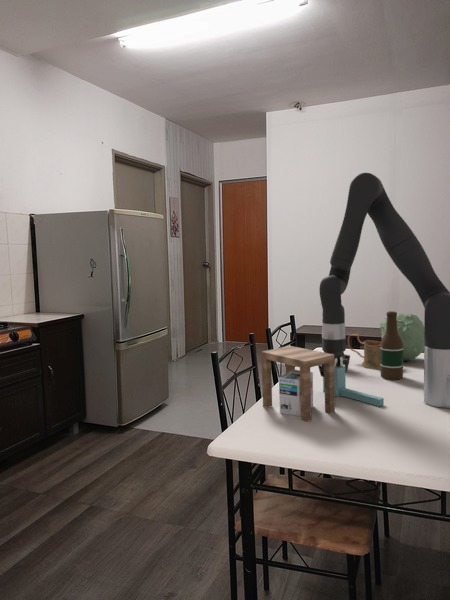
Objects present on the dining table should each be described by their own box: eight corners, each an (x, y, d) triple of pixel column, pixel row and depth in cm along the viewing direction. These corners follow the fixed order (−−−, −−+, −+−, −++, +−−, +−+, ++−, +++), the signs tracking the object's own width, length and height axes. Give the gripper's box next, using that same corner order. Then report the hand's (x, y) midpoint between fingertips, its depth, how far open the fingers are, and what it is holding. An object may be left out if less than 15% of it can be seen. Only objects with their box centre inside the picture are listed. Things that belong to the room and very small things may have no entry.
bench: (334, 411, 136) (334, 354, 135) (306, 421, 129) (305, 361, 128) (291, 397, 151) (289, 345, 149) (262, 406, 144) (261, 351, 142)
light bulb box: (300, 416, 133) (299, 380, 132) (278, 413, 137) (277, 377, 136) (314, 405, 142) (313, 371, 141) (293, 402, 146) (292, 368, 145)
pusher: (323, 392, 156) (322, 365, 155) (331, 389, 158) (331, 363, 157) (377, 407, 139) (377, 378, 138) (385, 404, 141) (385, 375, 140)
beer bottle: (379, 379, 168) (379, 313, 165) (381, 374, 175) (381, 310, 172) (402, 381, 165) (403, 313, 162) (403, 375, 172) (403, 310, 169)
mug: (353, 359, 199) (353, 331, 198) (395, 364, 189) (395, 334, 188) (342, 365, 190) (342, 336, 189) (386, 370, 180) (386, 339, 178)
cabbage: (423, 366, 183) (424, 316, 181) (374, 361, 194) (374, 313, 191) (431, 358, 196) (431, 311, 194) (384, 354, 207) (384, 309, 204)
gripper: (328, 341, 145) (328, 394, 147) (357, 334, 154) (357, 385, 155) (310, 338, 151) (310, 389, 153) (338, 332, 160) (339, 381, 161)
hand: (334, 387), depth 154 cm, fingers closed on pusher, 4 cm apart
